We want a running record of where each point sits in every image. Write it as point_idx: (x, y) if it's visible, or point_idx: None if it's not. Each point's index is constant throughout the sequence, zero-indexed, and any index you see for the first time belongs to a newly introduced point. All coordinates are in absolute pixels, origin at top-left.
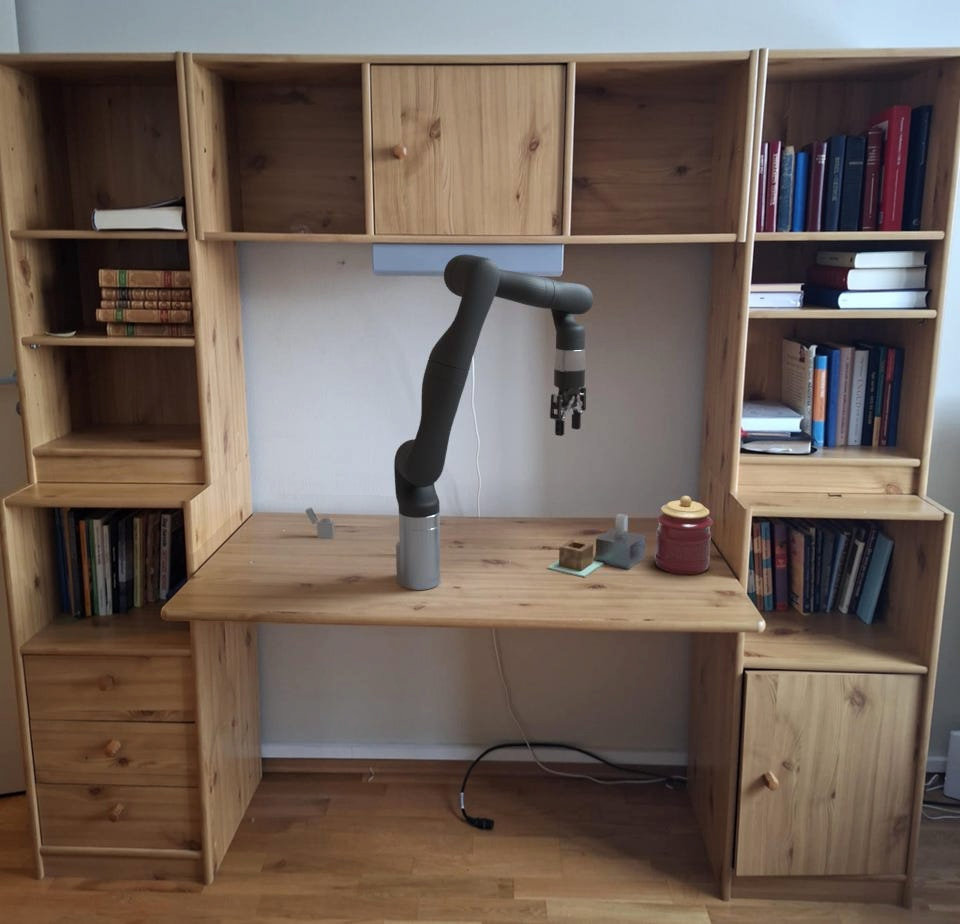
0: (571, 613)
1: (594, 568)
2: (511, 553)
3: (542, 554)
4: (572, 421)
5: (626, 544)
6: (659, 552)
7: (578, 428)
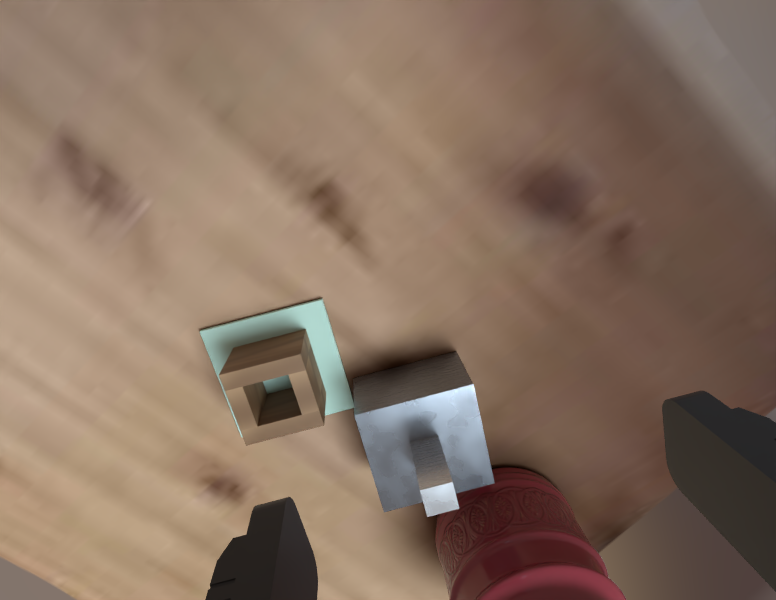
0: (60, 551)
1: None
2: (191, 158)
3: (271, 235)
4: (727, 453)
5: (384, 499)
6: (450, 534)
7: (674, 479)
